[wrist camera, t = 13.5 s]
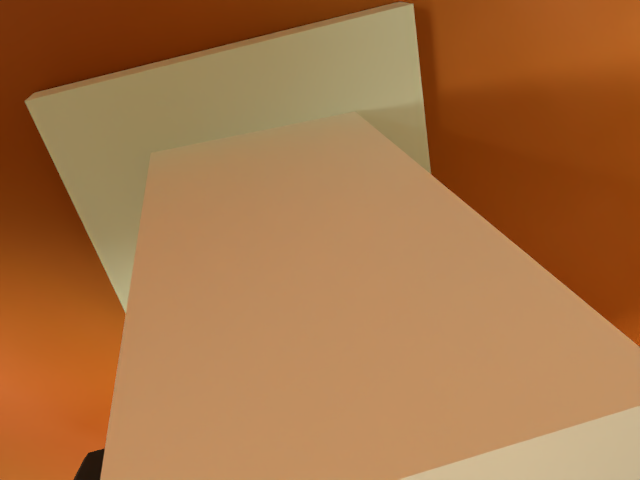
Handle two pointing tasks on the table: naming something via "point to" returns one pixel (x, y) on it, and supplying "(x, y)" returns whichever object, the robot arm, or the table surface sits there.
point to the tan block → (352, 328)
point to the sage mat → (225, 111)
